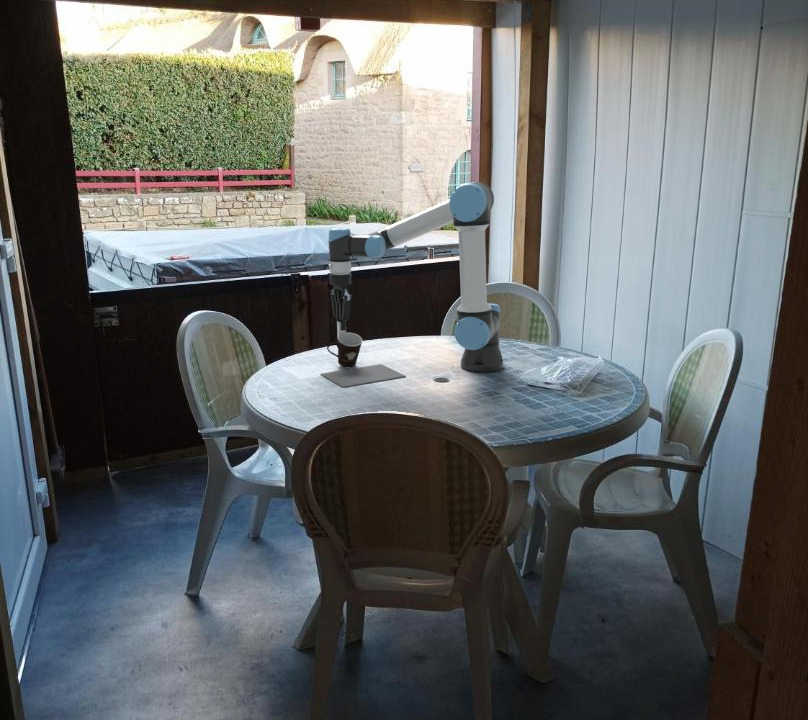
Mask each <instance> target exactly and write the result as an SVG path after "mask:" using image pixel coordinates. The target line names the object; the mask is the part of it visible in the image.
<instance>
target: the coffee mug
mask: <svg viewBox="0 0 808 720" xmlns="http://www.w3.org/2000/svg"><path fill="white" fill-rule="evenodd" d="M362 344H363V338H362V337H361V336H360V334H357V333H353V332H346V333H342V334H340V335H339V336H338V339H337V342H331V343H329V344H327V347H326V350H327V352H328V353H330V354H331V355H333V356H335V357H337V362H338V365H339V366H341V368H342V367H343V368H346V367H351V368H354V367H355V366H356V364H357V362H358V361H357V360H358V358H359V354H360V351H361V347H362ZM332 345H334V346H336V348H337V354H336V353H334V352H332V351H331V350H330V347H331V346H332ZM353 366H354V367H353Z"/></svg>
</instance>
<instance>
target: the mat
mask: <svg viewBox="0 0 808 720" xmlns="http://www.w3.org/2000/svg"><path fill="white" fill-rule="evenodd" d="M320 376H321V377H323V376H324V377H323V378H325V379H327V380H329V381H330V380H331V381H330V382H333V383H334V384H335V383H336V385H337V384H338V385H337V386H339V385H340V386H339V387H341V388H342V387H345V388H348V387H347V386H351V387H355V386H354V385H356V386H361V385H360V384H362V385H366V383H368V384H373V382H374V383H378V382H379V381H380V382H384V380H385V381H391V380H396V379H403V378H406V377H407V376H406V375H405V374H403V373H401V372H399V371H397V370H394V369H392V368H390V367H388V366H386V365H384V364H382V363H380V364H374V365H373V364H372V365H367V366H361V367H355V368H354V367H353V368H347V369H344V370H343V369H342V370H336V371H330V372H323V373H320Z"/></svg>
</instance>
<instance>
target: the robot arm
mask: <svg viewBox="0 0 808 720" xmlns="http://www.w3.org/2000/svg"><path fill="white" fill-rule="evenodd" d="M494 203H495V196H494V192H493V190H492V188H491V187H490V186H489V185H488V184H486V183H484V182H482V181H472V182H470V181H469V182H465V183H462V184H460V185H459V186H457V187H456V188H455V189H454V190H453V191H452V193H451V194H450V197H449V199H447V200H445V201H443V202H440V203H438V204H436V205H434V206H432V207H429V208H427V209H425V210H423V211H422V210H421V211H420V212H418V213H416V214H414V215H411V216H409V217H406V218H405V219H402V220H400V221H397V222H395V223H393V224H391V225H389V226H386V227H384V228H382V229H379V230H377V231H374V232H371V233H368V234H353V233H352V232H351V229H350V228H348V227H333V228H330V229H329V230H328V241H327V243H328V256H329V259H328V261H329V264H328V267H329V273H330V274H329V284H330V285H332V287H333V288H332V290H329V293H330V297H331V305H332V306H331V307H332V313H333V318H335V320H336V326H337V327H336V329H337V331H336V332H337V340H338V336H339V335H340V334H342V333H347V324H346V323H347V321H349V320H350V316H351V315H350V314H351V306H352V305H351V304H352V303H351V302H352V299H353V295H352V294H349V288H348V287H349V285H351V284H352V257H354V258H357V257H358V258H371V259H374V258H378V259H379V258H382V257H383V256H384V254H385V252H387V251H389V250H391V249H393V248H395V247H397V246H399V245H402V244H404V243H407V242H409V241H413V240H414V239H416V238H419V237H422V236H424V235H427V234H428V233H431V232H434V231H436V230H438V229H441V228H443V227H445V226H447V225H449V224H450V225H451V224H452V223H453V227H454V229H455V230H457V232H458V248H459V249H458V250H459V251H458V253H459V257H458V258H459V278H460V279H459V280H460V283H459V285H460V286H459V287H460V304H459V306H458V307H456V324H455V326H454V332H453V333H454V338H455V340H456V342H457V343H458V344H459V345H460V346H461V347H462V348H463V353H462V357H461V359H460V367H461V369H463V368H464V369H463V370H465V371H469V370H470V371H469V372H474V371H477V372H476V373H492V372H493V371H494V372H498V371H500V370H503V368H504V358H503V355H502V352H501V349H500V329H501V328H500V327H501V326H500V325H501V313H502V312H501V307H500V305H499V304H497V303H490V302H489V303H488V295H487V294H488V293H487V290H488V289H487V262H486V261H487V259H486V258H487V255H486V229H487V228H488V227H489V226H490V212H491V210H492V208H493V206H494Z"/></svg>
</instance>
